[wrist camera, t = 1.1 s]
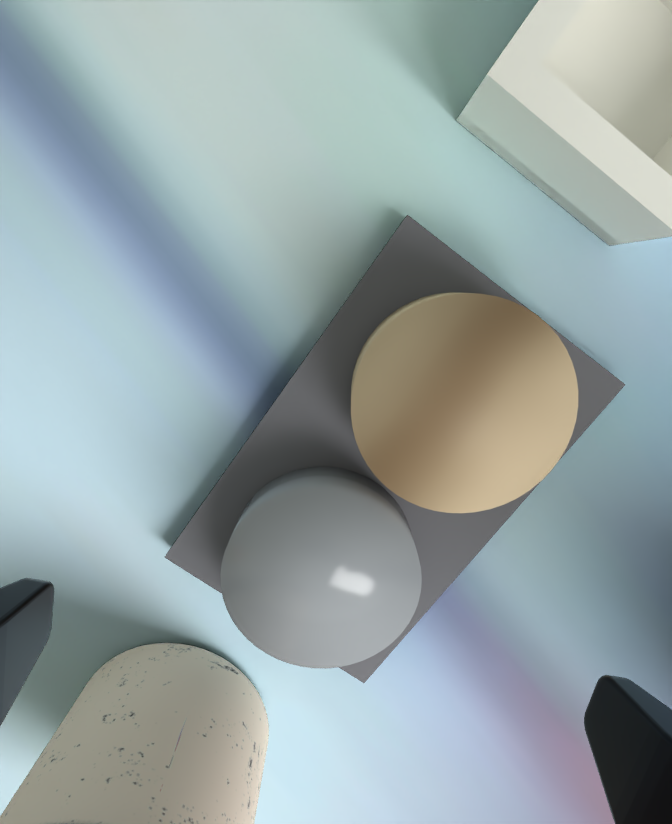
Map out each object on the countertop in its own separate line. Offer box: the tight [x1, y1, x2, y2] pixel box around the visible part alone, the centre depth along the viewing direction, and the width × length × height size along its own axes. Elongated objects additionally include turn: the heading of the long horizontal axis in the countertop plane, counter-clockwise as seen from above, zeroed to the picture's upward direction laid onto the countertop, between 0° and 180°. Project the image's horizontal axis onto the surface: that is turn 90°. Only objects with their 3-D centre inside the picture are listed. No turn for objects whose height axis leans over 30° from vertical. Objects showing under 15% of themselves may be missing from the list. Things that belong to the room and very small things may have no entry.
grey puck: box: [220, 467, 422, 668], centre depth 20 cm, size 7×7×2 cm
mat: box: [165, 215, 625, 683], centre depth 20 cm, size 10×16×1 cm, turn 144°
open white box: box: [456, 0, 672, 246], centre depth 16 cm, size 7×7×4 cm
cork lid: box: [351, 292, 578, 513], centre depth 18 cm, size 7×7×3 cm
